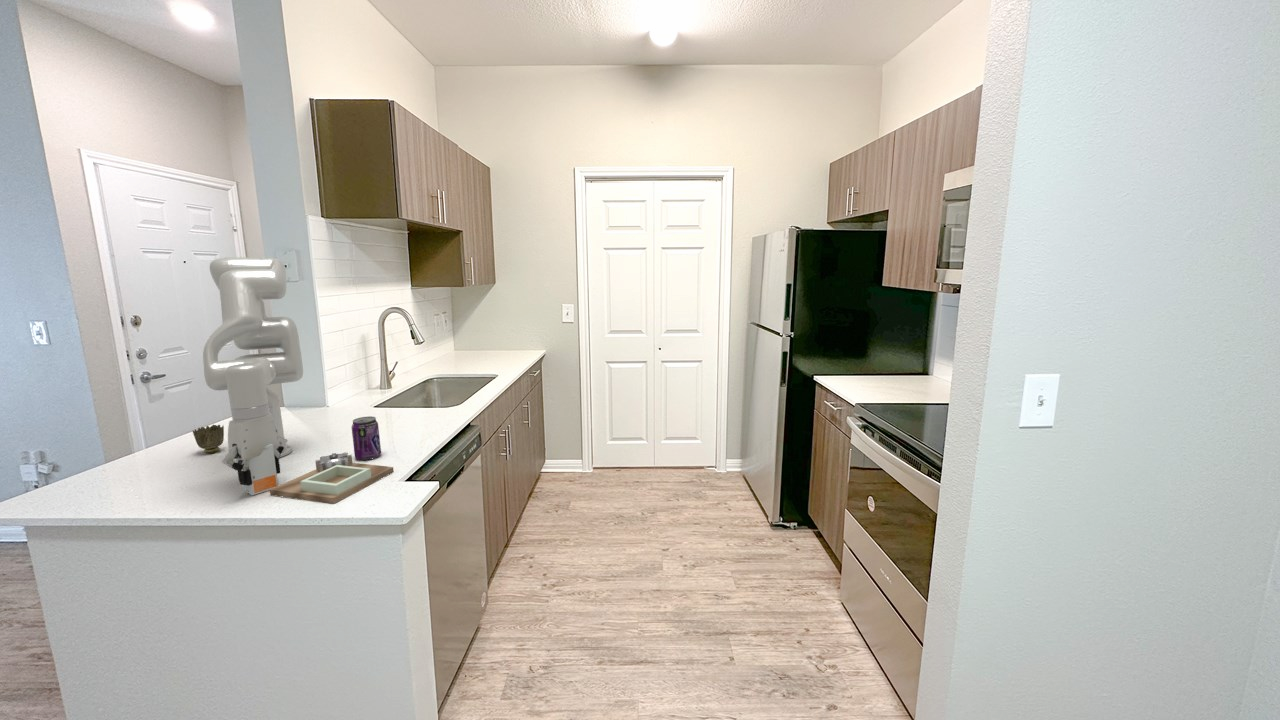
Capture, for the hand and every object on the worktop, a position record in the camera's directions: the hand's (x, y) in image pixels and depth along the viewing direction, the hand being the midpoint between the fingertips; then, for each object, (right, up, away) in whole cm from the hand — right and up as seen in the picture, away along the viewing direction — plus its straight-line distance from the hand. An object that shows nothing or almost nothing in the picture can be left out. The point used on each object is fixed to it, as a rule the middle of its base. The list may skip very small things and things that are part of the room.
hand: (260, 478), depth 129 cm
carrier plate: (+17, -2, +4) cm, 17 cm away
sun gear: (+13, 0, +11) cm, 17 cm away
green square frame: (+20, -2, 0) cm, 20 cm away
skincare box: (0, -3, +1) cm, 4 cm away
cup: (-37, +1, +28) cm, 47 cm away
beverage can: (+15, +1, +23) cm, 28 cm away
